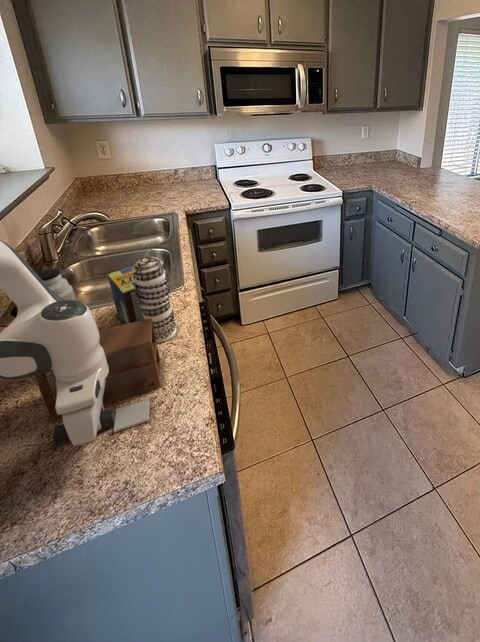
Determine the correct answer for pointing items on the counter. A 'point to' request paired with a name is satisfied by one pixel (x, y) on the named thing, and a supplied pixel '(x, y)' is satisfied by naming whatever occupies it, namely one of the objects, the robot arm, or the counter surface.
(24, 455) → the counter surface
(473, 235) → the counter surface
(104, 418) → the spatula
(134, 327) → the box
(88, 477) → the counter surface
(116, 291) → the protein box
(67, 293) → the thermos bottle
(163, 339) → the decorative candle
